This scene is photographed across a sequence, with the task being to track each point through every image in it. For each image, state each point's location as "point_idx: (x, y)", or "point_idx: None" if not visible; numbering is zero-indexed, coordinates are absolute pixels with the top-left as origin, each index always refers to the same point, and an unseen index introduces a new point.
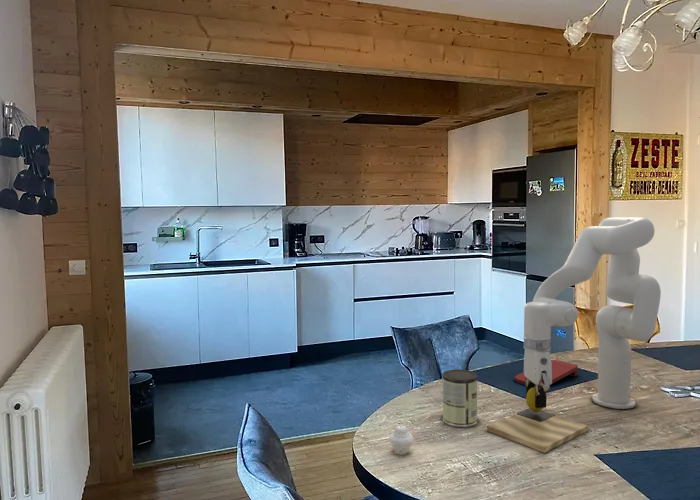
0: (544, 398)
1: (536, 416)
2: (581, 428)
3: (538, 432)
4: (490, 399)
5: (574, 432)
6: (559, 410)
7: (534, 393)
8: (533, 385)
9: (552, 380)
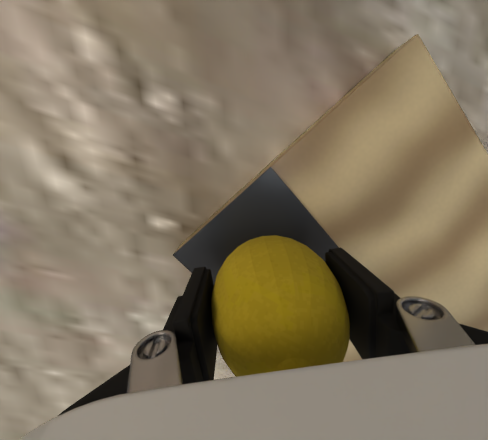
0: (395, 296)
1: None
2: (448, 88)
3: (451, 294)
4: (44, 367)
5: (481, 144)
6: (131, 98)
7: None
8: (190, 365)
9: None
